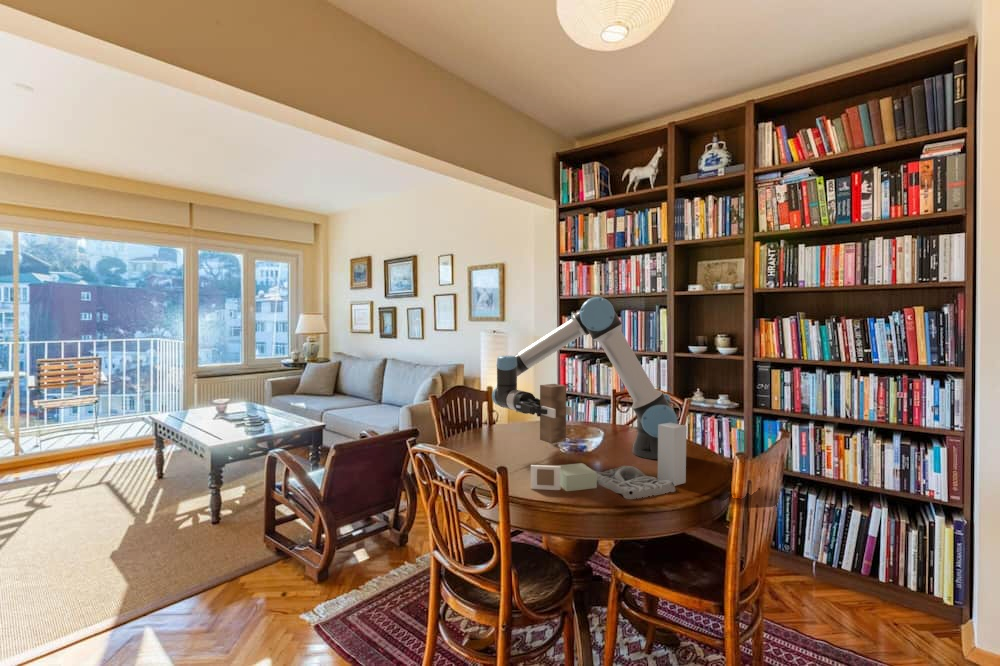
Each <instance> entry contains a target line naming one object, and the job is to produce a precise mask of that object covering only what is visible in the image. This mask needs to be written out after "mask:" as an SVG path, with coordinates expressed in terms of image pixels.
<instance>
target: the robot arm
mask: <svg viewBox="0 0 1000 666" xmlns="http://www.w3.org/2000/svg"><path fill="white" fill-rule="evenodd" d="M571 317H572V318H570V319H568V320H567V321H566V322H564V323H562V324H561V325H560V326H558V327H556V328H555V329H554V330H551V331H550V332H549V333H546V334H545V335H544V336H543V337H541V338H539V339H538V340H537V341H535V342H533V343H531V344H530V345H529V346H527V347H526V348H524V349H522V350H521V351H519V352H518V353H516V354H515V355H499V356H498V357H497V359H496V360H497V361H496V384H497V385H496V387H495V388H494V389H493V391H492V393H491V399H492V402H493V403H494V404H495V405H497V406H499V407H501V408H503V409H504V408H505V409H509V410H511V411H515V412H516V413H521V414H524V415H525V414H527V415H528V414H530V415H535V414H536V417H539V418H540V416H541V415H545V416H548V417H552V418H556V409H553V408H549V407H545V406H540V398H537V397H535V395H534V394H533V393H532V392H530V391H529V392H528V391H524V390H521V389H518V376H520V375H521V374H523V373H525V372H527V370H530V368H532V367H534V366H535V365H537V364H539V363H540V362H542V361H543V360H545V359H547V358H548V357H549V356H551V355H553V354H555V353H556V352H558V351H559V350H561V349H562V348H565V346H567V345H569V344H570V343H572V342H574V341H575V340H577V339H578V338H580V337H582V336H588V335H590V338H592V341H594V342H598V343H599V344H600V346H601V348H602V349H603V350H604V353H605V354H606V356H607V359H609V361H610V364H611V365H612V367H613V368H614V370H615V372H616V374H617V375H618V377H619V378H620V380H621V382H622V383H623V385H624V387H625V389H626V390H627V392H628V394H629V396H630V397H631V399H632V401H633V402H632V405H631V408H632V409H633V411H634V413H635V415H636V416H637V434H636V436H635V439H634V442H633V444H632V445H633V446H632V454H633V455H635V456H638V457H640V458H644V459H651V460H658V425H659V424H665V423H670V422H671V423H675V424H678V416H677V412H676V411H675V410H674V409H673V408H672V406H671V403H672V402H671V401H672V400H671V396H670V394H666V393H663V391H661V390H658V389H656V388H655V386H654V385H653V383H652V382H651V379H650V378H649V376H648V374H647V373H646V371H645V369H644V367H643V365H642V364H641V362H640V360H639V359H638V358H637V355H636V353H635V352H634V350H633V349H632V346H630V343H629V341H628V340H627V338H626V337H625V335H624V333H623V332H622V327H623V323H622V321H621V320H620V318H619V316H618V314H617V312H616V311H615V308H614V306H613V304H612V303H611V301H609V300H608V299H607V298H604V297H602V296H593V297H591V298H588V299H587V300H586V301H584V302H583V303H582V305H581V307H580V309H579V310H577V311H576V312H574V313H573V314H572V316H571ZM566 416H570V417H571V416H573V406H570V405H566Z"/></svg>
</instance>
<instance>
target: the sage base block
mask: <svg viewBox="0 0 1000 666" xmlns="http://www.w3.org/2000/svg"><path fill="white" fill-rule="evenodd" d="M555 466H561V480H560V488H562V489H563V490H565V492H572V491H581V490H590V489H597V488H598V483H597V473H596V472H595V471H596V470H594V469H593V468H590V467H589V466H587V465H586V464H584V463H583V462H579V463H568V464H558V465H555Z"/></svg>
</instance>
